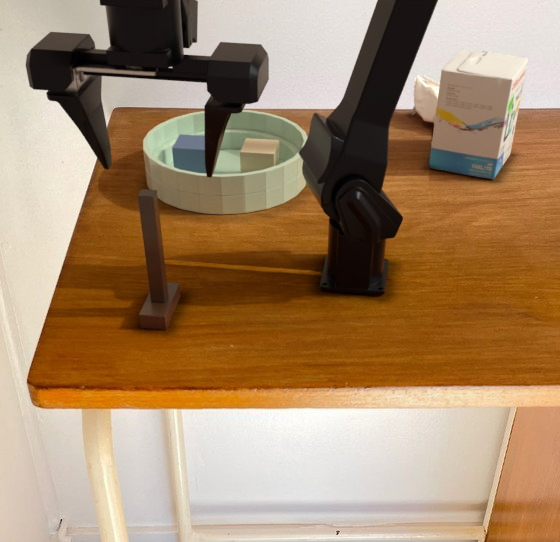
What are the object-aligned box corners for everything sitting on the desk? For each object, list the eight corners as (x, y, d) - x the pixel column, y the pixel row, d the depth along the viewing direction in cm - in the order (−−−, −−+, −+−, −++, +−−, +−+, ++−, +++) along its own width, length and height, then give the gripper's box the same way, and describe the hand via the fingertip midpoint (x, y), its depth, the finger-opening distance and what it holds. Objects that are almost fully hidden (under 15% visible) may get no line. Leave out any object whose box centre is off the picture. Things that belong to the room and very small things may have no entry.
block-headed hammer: (166, 330, 80) (152, 209, 71) (140, 328, 80) (123, 207, 72) (180, 296, 84) (169, 178, 76) (156, 294, 84) (142, 176, 76)
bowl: (296, 224, 95) (296, 181, 91) (129, 213, 97) (123, 170, 93) (315, 153, 108) (317, 113, 105) (169, 145, 110) (165, 105, 107)
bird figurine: (398, 128, 117) (445, 135, 109) (403, 73, 114) (451, 76, 106) (426, 129, 119) (474, 135, 112) (431, 74, 116) (481, 77, 108)
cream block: (274, 187, 100) (274, 153, 97) (240, 185, 100) (239, 151, 97) (279, 173, 103) (279, 139, 100) (246, 171, 103) (245, 138, 100)
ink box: (494, 181, 102) (513, 79, 94) (426, 168, 105) (439, 68, 97) (511, 154, 108) (530, 55, 100) (447, 143, 110) (460, 46, 102)
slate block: (207, 183, 101) (205, 149, 98) (174, 181, 101) (171, 147, 98) (214, 169, 104) (212, 136, 101) (182, 167, 104) (179, 134, 101)
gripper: (280, -54, 68) (279, 142, 79) (56, -65, 70) (86, 128, 81) (254, -17, 60) (257, 195, 71) (4, -30, 62) (44, 178, 73)
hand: (159, 171), depth 74 cm, fingers open, 9 cm apart
